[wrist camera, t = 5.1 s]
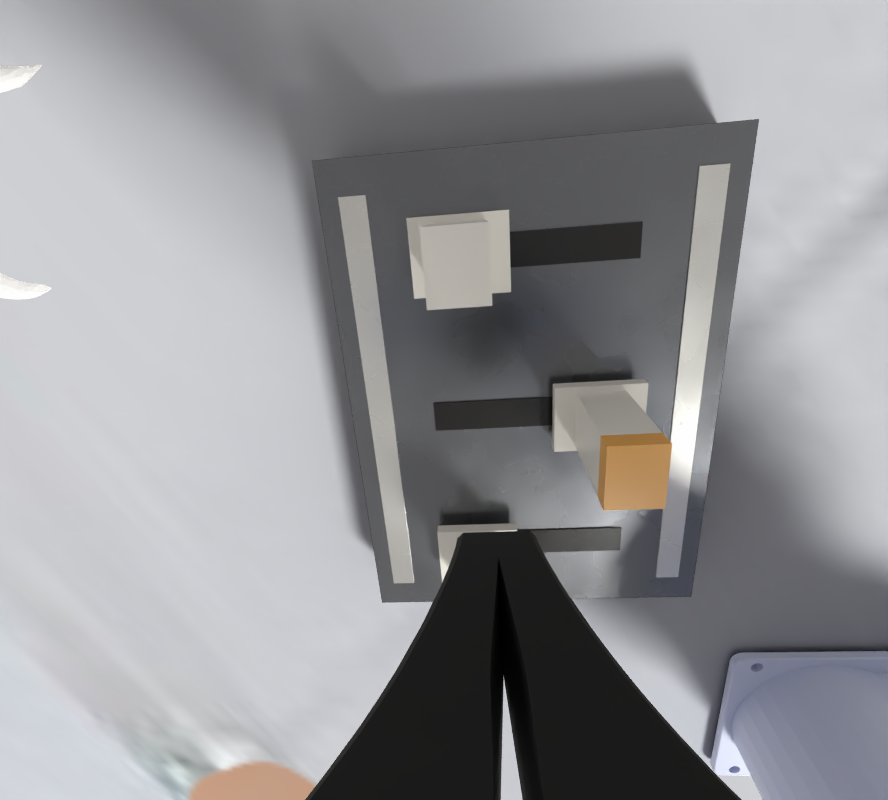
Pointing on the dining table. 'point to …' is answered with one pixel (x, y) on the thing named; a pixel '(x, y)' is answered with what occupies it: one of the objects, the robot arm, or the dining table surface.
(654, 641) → the dining table surface
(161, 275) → the dining table surface
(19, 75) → the tree stump
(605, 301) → the panel
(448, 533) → the breaker far
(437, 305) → the block
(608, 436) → the breaker mid
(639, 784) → the robot arm
